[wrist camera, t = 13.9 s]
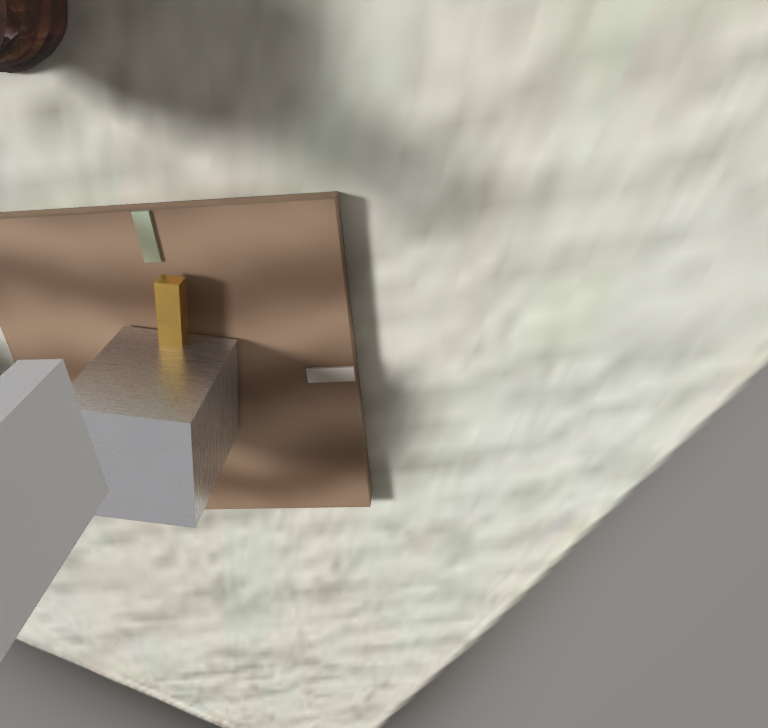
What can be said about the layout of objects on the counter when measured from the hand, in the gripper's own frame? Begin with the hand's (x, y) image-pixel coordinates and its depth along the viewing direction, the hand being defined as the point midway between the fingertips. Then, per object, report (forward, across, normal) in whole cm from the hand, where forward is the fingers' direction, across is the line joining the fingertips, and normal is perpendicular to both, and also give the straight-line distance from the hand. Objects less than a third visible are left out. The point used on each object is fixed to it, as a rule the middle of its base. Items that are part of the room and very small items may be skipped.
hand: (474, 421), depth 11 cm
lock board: (+28, -17, -15) cm, 36 cm away
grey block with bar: (+26, -17, -13) cm, 34 cm away
